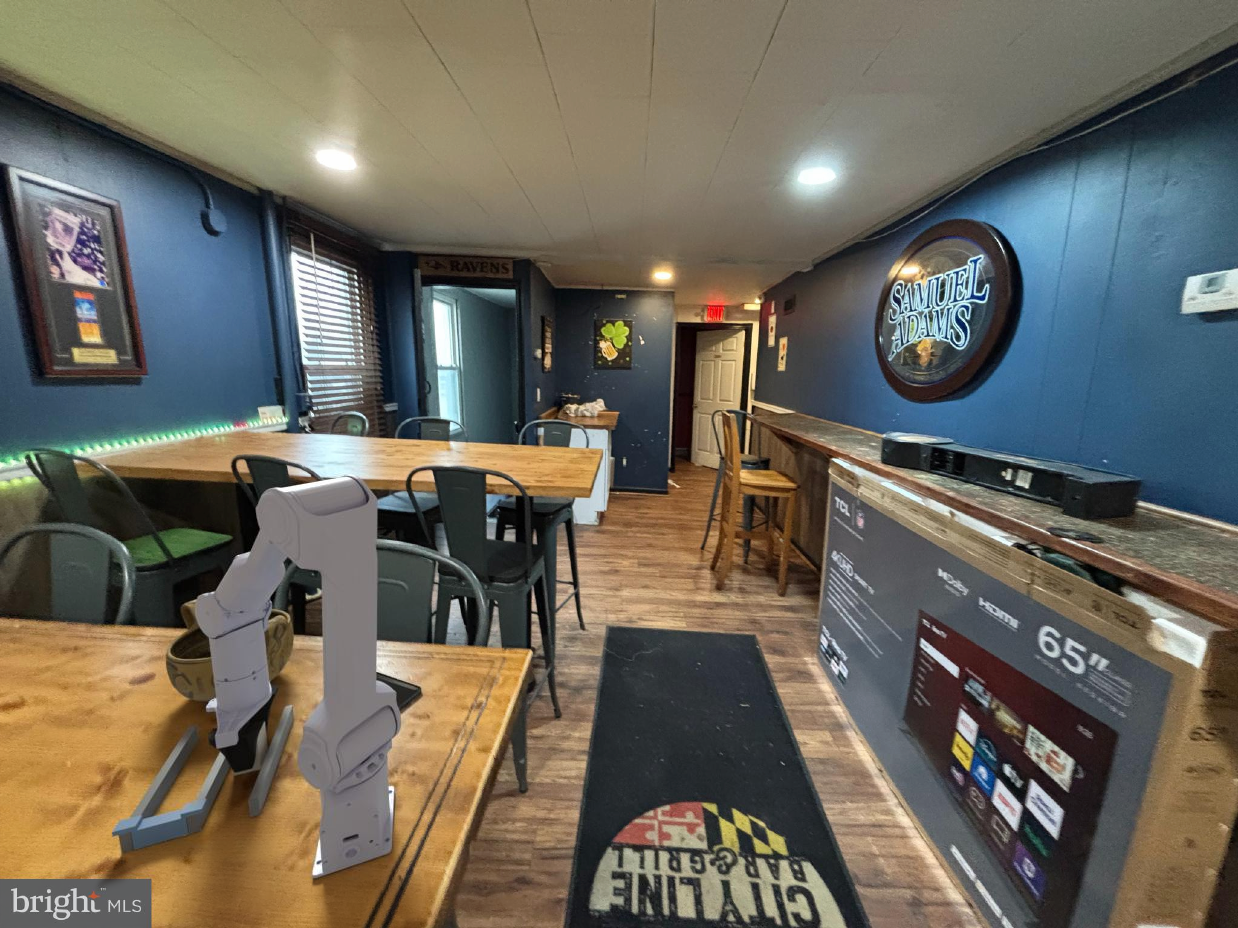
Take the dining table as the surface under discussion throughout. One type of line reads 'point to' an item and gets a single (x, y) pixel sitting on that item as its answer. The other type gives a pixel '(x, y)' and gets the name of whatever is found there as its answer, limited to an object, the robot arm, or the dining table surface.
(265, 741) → the cream rectangular box
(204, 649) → the ceramic bowl
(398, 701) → the black tray
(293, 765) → the dining table surface
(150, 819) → the metal rails
